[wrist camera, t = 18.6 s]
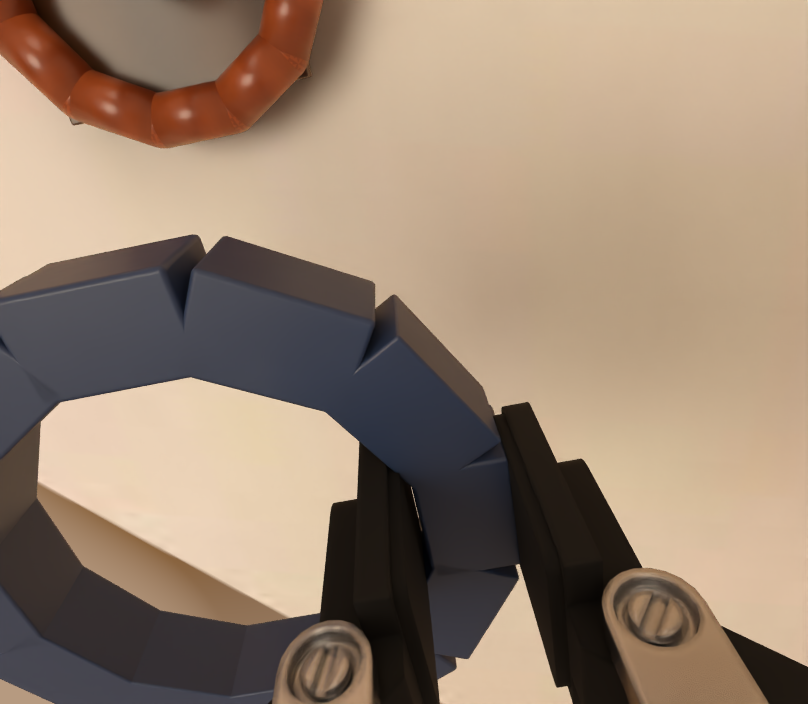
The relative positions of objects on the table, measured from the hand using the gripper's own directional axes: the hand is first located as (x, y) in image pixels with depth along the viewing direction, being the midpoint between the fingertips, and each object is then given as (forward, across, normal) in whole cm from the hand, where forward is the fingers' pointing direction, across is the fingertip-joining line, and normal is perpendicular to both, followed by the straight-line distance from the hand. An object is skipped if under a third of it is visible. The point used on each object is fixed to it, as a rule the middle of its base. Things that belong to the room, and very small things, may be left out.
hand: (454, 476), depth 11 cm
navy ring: (0, +5, 0) cm, 5 cm away
